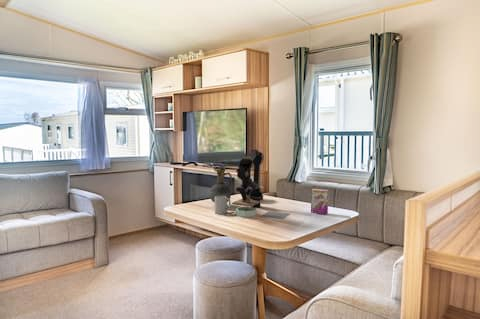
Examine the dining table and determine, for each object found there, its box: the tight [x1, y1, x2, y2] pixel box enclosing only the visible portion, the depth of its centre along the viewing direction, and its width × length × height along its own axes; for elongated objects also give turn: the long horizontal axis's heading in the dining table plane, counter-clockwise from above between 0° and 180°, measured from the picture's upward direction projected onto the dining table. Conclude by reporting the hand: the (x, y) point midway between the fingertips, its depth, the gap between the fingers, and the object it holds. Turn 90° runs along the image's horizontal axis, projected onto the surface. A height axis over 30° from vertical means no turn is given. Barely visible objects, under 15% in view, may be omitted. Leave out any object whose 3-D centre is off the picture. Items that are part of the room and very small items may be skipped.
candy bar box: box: [310, 188, 329, 215], centre depth 236 cm, size 11×5×16 cm, turn 71°
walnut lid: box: [231, 195, 261, 207], centre depth 229 cm, size 14×14×5 cm
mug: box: [214, 196, 232, 215], centre depth 236 cm, size 12×8×11 cm
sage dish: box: [235, 206, 257, 218], centre depth 230 cm, size 13×13×4 cm
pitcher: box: [209, 165, 233, 204], centre depth 256 cm, size 11×19×30 cm, turn 136°
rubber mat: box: [260, 210, 291, 220], centre depth 229 cm, size 16×16×1 cm
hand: (246, 200), depth 229 cm, fingers closed on walnut lid, 4 cm apart
